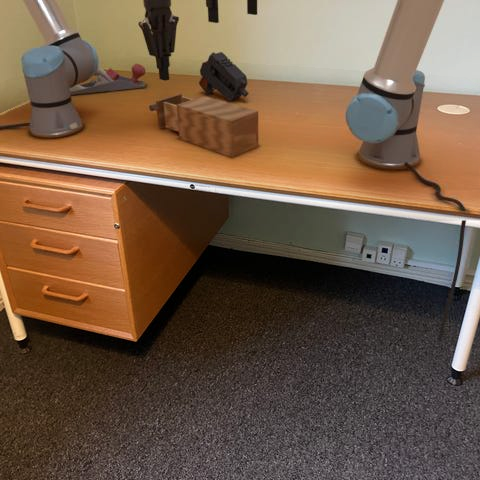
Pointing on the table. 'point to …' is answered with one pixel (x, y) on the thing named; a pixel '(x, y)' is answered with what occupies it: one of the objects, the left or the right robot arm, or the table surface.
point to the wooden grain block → (218, 125)
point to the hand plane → (111, 81)
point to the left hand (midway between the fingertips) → (164, 79)
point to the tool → (222, 77)
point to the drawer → (168, 111)
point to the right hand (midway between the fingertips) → (233, 18)
